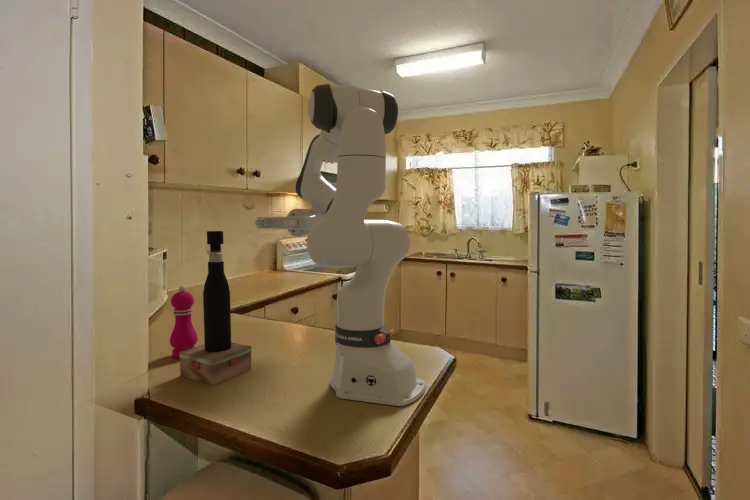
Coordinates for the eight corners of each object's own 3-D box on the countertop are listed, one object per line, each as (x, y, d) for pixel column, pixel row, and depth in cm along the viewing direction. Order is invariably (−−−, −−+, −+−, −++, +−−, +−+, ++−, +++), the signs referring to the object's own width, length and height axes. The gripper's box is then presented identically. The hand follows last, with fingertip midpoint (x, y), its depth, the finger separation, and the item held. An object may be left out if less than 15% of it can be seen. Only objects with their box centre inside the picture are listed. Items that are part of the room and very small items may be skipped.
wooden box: (253, 369, 106) (252, 346, 106) (213, 386, 95) (213, 361, 95) (219, 361, 112) (218, 339, 112) (178, 376, 101) (177, 353, 101)
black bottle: (236, 346, 106) (234, 231, 104) (218, 353, 100) (214, 231, 98) (218, 343, 109) (215, 230, 106) (198, 350, 103) (195, 231, 101)
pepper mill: (187, 360, 113) (185, 288, 112) (164, 358, 115) (162, 287, 113) (203, 351, 120) (201, 284, 119) (181, 350, 122) (179, 283, 120)
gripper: (274, 212, 133) (242, 212, 121) (326, 212, 124) (297, 211, 111) (274, 232, 134) (243, 233, 121) (326, 233, 124) (297, 234, 112)
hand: (269, 223), depth 116 cm, fingers open, 8 cm apart
